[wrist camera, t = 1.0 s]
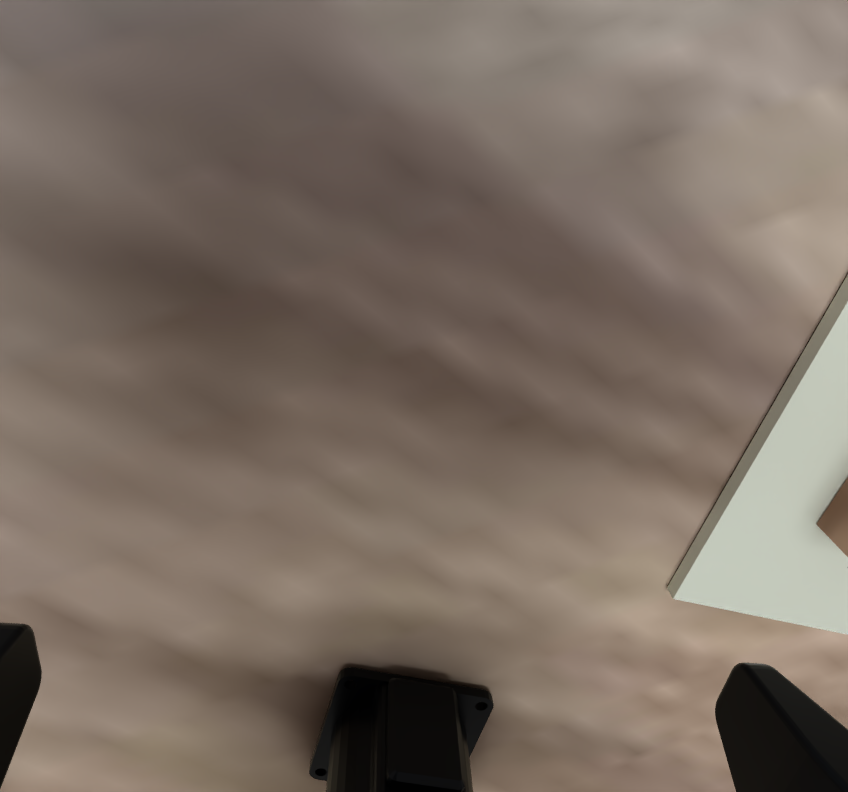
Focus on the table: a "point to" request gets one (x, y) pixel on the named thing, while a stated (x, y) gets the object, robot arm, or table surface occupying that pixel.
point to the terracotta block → (837, 519)
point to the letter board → (784, 500)
